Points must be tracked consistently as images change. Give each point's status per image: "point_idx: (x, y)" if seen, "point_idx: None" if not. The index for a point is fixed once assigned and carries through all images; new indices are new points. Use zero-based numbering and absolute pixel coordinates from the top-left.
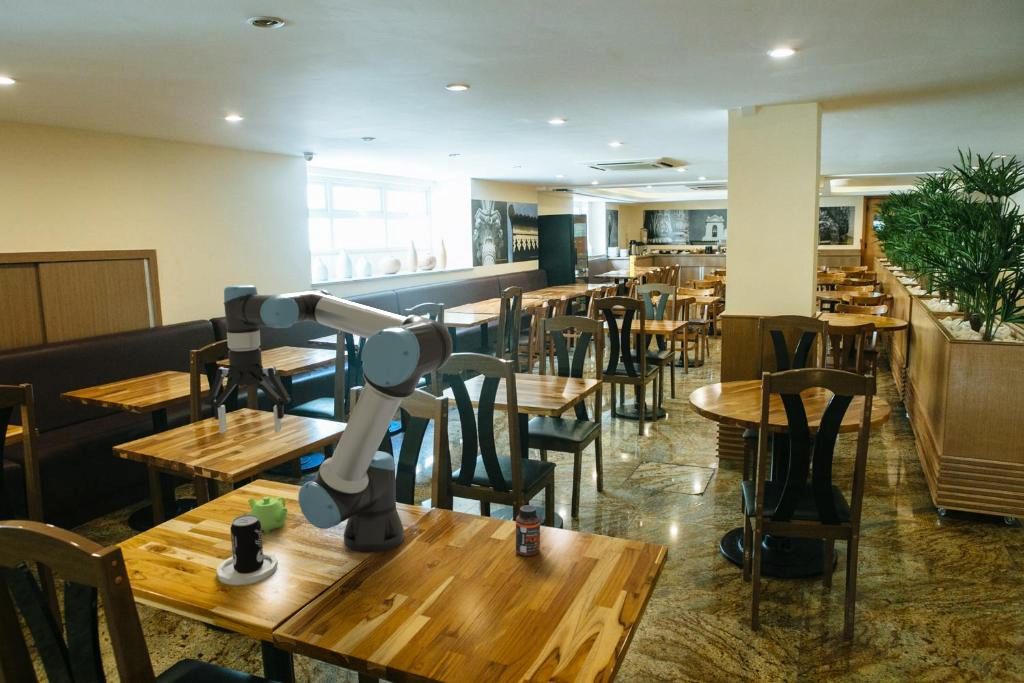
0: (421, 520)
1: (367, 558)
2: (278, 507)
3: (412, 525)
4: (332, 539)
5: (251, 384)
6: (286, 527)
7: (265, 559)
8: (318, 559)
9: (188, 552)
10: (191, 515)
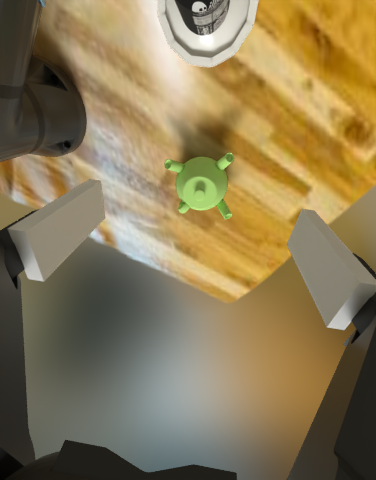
0: (9, 165)
1: None
2: (181, 181)
3: None
4: (104, 122)
5: (61, 467)
6: None
7: (183, 41)
8: (103, 44)
9: (310, 109)
10: None
